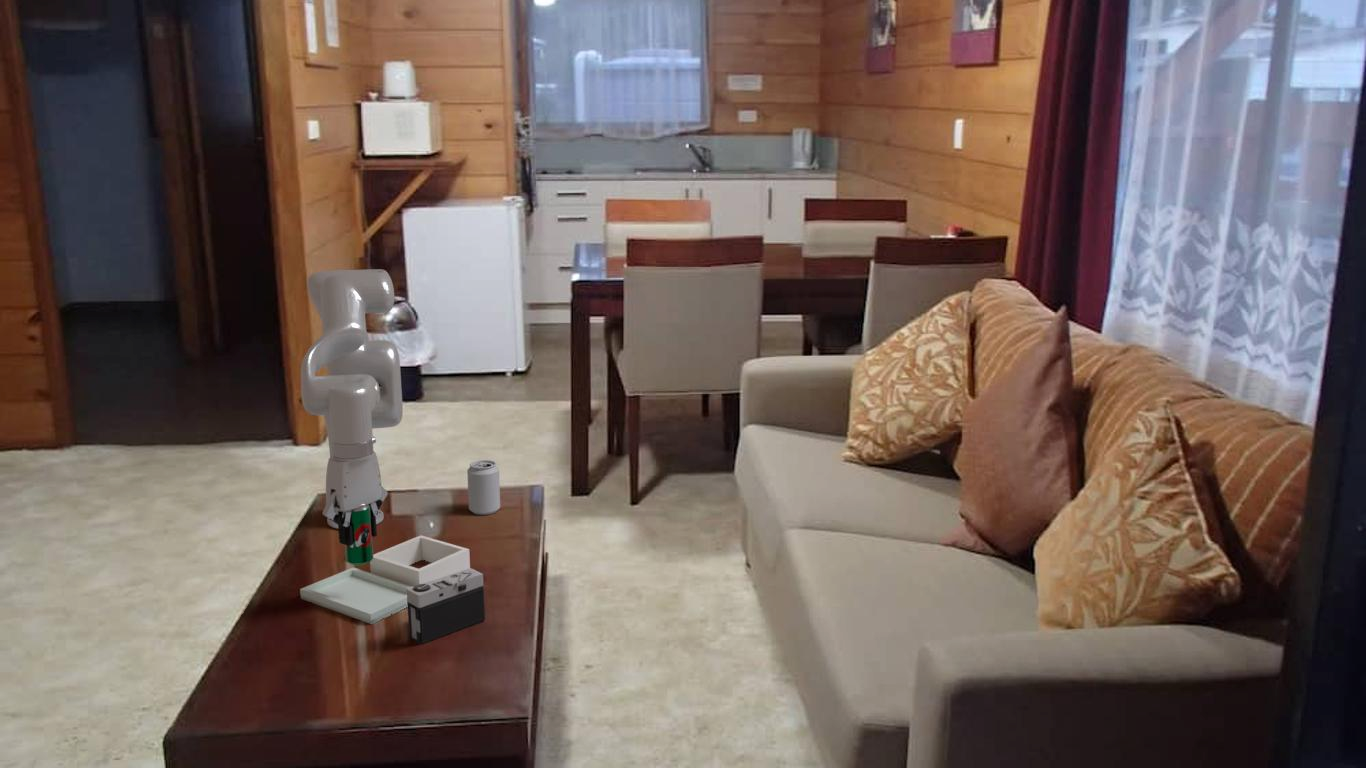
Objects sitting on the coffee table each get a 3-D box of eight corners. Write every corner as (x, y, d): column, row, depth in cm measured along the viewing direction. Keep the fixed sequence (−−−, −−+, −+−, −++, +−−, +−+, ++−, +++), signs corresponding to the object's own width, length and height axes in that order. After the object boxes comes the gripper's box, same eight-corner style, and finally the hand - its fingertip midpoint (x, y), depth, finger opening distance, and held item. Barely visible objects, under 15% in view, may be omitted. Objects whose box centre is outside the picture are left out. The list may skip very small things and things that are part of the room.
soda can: (377, 556, 209) (374, 498, 206) (367, 566, 204) (363, 507, 202) (352, 555, 210) (348, 497, 207) (341, 565, 205) (337, 506, 202)
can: (497, 516, 254) (495, 468, 252) (465, 515, 255) (463, 467, 252) (503, 505, 262) (501, 458, 259) (472, 505, 262) (470, 458, 259)
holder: (371, 579, 218) (369, 556, 217) (422, 557, 230) (420, 535, 228) (420, 595, 211) (418, 571, 210) (470, 571, 222) (469, 549, 221)
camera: (461, 608, 206) (459, 559, 203) (486, 621, 200) (484, 571, 198) (396, 631, 196) (393, 580, 194) (421, 646, 190) (418, 593, 188)
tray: (300, 598, 209) (300, 589, 208) (353, 576, 219) (353, 567, 219) (371, 624, 198) (370, 614, 198) (423, 599, 209) (422, 590, 208)
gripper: (374, 435, 211) (379, 522, 215) (301, 456, 197) (308, 549, 201) (400, 441, 207) (405, 530, 211) (329, 463, 193) (335, 557, 197)
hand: (358, 538), depth 206 cm, fingers closed on soda can, 5 cm apart
